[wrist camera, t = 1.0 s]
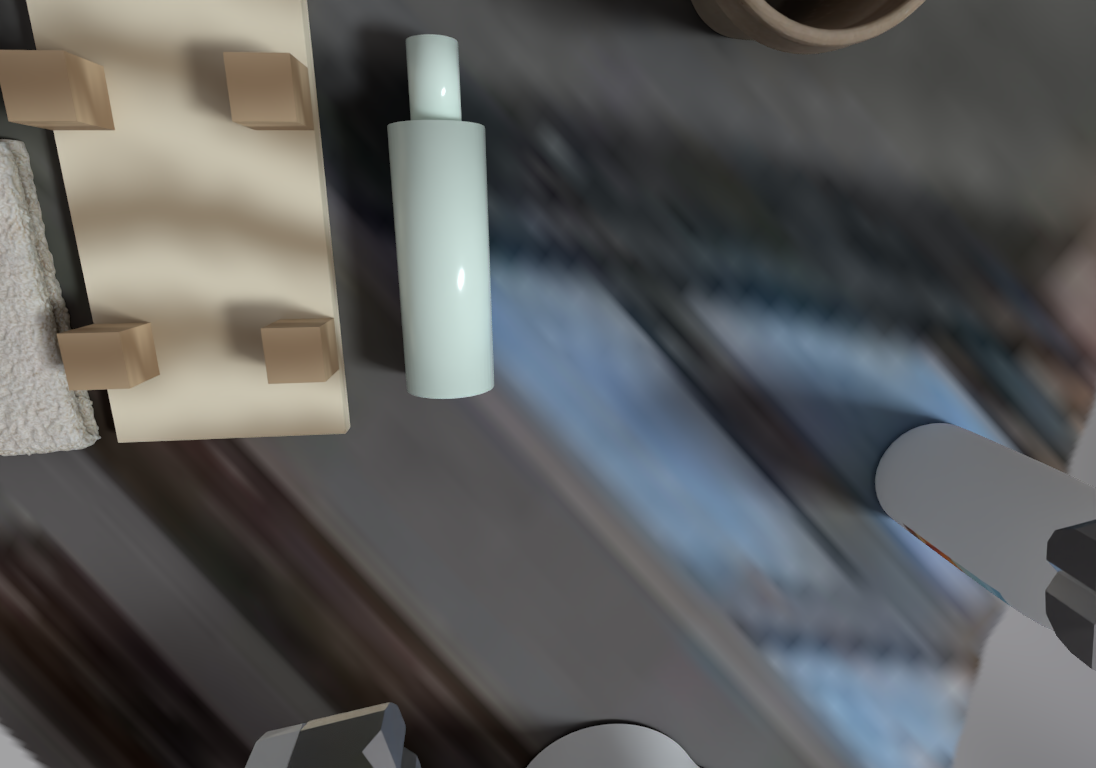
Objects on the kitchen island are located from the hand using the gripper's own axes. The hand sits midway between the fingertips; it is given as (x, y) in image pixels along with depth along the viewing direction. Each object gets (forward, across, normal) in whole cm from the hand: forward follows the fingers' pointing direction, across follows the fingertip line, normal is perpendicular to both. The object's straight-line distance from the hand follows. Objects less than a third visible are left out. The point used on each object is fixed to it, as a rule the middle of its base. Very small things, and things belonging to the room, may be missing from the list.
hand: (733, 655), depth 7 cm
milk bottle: (+30, -24, +18) cm, 43 cm away
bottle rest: (+31, +17, -8) cm, 36 cm away
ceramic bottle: (+31, +4, -5) cm, 32 cm away
